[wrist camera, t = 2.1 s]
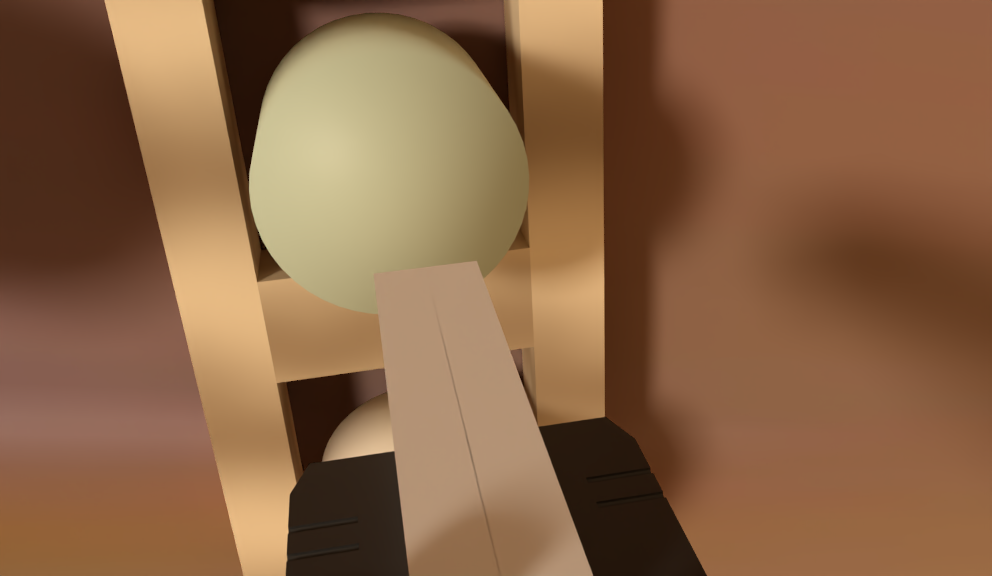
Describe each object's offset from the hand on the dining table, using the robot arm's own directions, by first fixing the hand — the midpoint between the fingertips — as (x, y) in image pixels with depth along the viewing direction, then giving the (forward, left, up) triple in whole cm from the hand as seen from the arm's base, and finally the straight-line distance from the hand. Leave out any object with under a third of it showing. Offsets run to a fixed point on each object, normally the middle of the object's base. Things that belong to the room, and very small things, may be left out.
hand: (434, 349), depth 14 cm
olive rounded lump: (0, 0, -10) cm, 10 cm away
